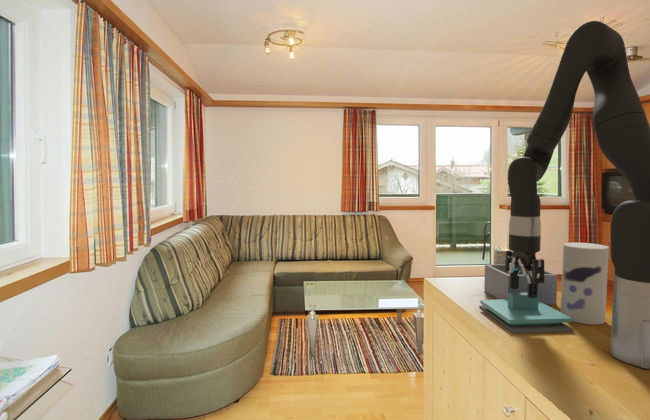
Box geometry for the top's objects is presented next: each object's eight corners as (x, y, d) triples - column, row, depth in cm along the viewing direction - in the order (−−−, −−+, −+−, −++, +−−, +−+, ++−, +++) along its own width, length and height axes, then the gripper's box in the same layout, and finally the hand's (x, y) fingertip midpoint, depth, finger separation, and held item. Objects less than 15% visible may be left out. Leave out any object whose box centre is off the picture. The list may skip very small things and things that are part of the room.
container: (561, 321, 102) (565, 246, 100) (559, 309, 111) (562, 240, 109) (608, 327, 97) (612, 249, 96) (601, 315, 106) (605, 243, 104)
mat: (573, 331, 95) (573, 329, 95) (514, 333, 94) (514, 330, 94) (529, 306, 114) (529, 304, 114) (479, 307, 113) (479, 305, 113)
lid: (571, 326, 96) (572, 302, 96) (509, 328, 96) (510, 304, 95) (533, 305, 112) (534, 285, 112) (480, 307, 112) (480, 286, 111)
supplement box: (492, 281, 142) (493, 245, 141) (506, 282, 141) (507, 246, 139) (494, 286, 134) (495, 249, 133) (509, 288, 133) (510, 250, 132)
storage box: (556, 304, 115) (557, 274, 115) (507, 305, 115) (508, 275, 114) (527, 290, 130) (528, 263, 130) (484, 291, 130) (484, 264, 129)
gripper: (555, 236, 95) (553, 300, 96) (522, 229, 109) (521, 285, 111) (526, 237, 95) (524, 301, 96) (497, 229, 109) (495, 286, 110)
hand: (522, 293), depth 103 cm, fingers open, 8 cm apart
